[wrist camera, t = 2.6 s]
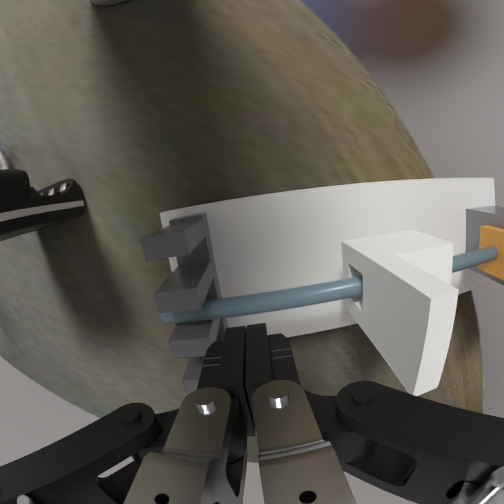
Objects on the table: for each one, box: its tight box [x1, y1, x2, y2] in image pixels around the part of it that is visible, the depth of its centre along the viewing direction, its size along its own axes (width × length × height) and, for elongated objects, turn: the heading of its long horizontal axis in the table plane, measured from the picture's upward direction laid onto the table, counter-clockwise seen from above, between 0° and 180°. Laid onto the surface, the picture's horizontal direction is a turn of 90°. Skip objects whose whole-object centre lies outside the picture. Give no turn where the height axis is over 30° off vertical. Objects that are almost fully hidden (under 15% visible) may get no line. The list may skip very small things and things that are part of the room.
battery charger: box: [0, 169, 84, 241], centre depth 12 cm, size 7×4×11 cm, turn 99°
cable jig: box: [141, 178, 504, 394], centre depth 14 cm, size 10×28×10 cm, turn 99°
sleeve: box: [341, 230, 459, 396], centre depth 11 cm, size 4×5×8 cm
